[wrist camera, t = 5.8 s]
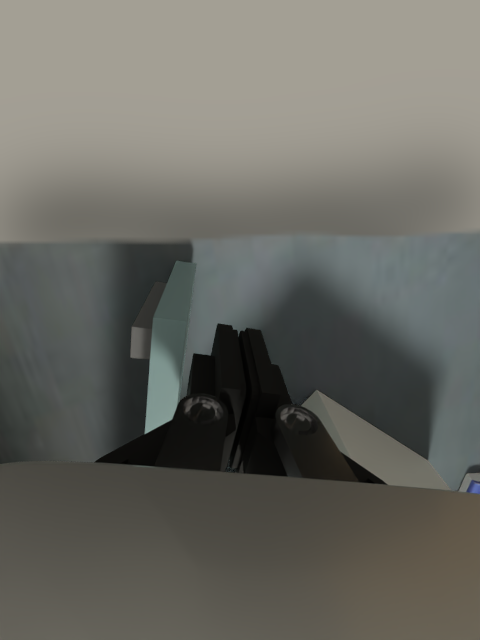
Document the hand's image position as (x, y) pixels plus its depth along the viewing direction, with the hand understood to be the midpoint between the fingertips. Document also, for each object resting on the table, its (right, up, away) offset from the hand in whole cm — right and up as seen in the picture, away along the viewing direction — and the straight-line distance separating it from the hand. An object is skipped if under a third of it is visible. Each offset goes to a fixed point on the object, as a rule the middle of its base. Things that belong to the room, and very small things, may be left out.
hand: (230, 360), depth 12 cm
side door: (-5, -6, +8) cm, 11 cm away
